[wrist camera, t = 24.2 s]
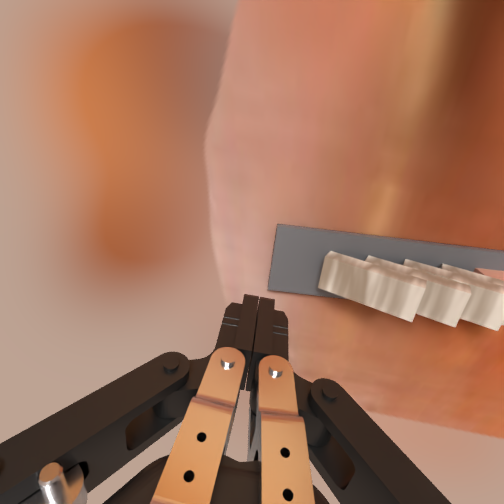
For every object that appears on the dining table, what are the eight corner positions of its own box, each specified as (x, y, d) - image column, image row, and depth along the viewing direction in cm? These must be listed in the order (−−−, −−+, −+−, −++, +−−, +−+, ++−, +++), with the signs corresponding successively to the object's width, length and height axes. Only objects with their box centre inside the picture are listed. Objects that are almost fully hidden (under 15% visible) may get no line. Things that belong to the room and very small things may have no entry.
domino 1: (317, 287, 42) (412, 322, 37) (324, 256, 40) (425, 288, 35) (323, 280, 44) (413, 312, 39) (330, 250, 42) (426, 280, 37)
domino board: (277, 223, 42) (277, 226, 41) (510, 251, 42) (516, 254, 41) (267, 286, 46) (267, 289, 45) (479, 311, 46) (483, 315, 45)
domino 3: (392, 295, 42) (497, 331, 37) (403, 264, 40) (516, 297, 35) (395, 288, 44) (495, 321, 39) (405, 258, 42) (512, 288, 37)
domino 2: (355, 292, 42) (455, 327, 37) (364, 261, 40) (471, 293, 35) (359, 285, 44) (454, 317, 39) (368, 255, 42) (470, 285, 37)
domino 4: (429, 300, 42) (538, 337, 37) (442, 269, 40) (560, 304, 35) (429, 292, 44) (534, 326, 39) (442, 263, 42) (554, 295, 37)
